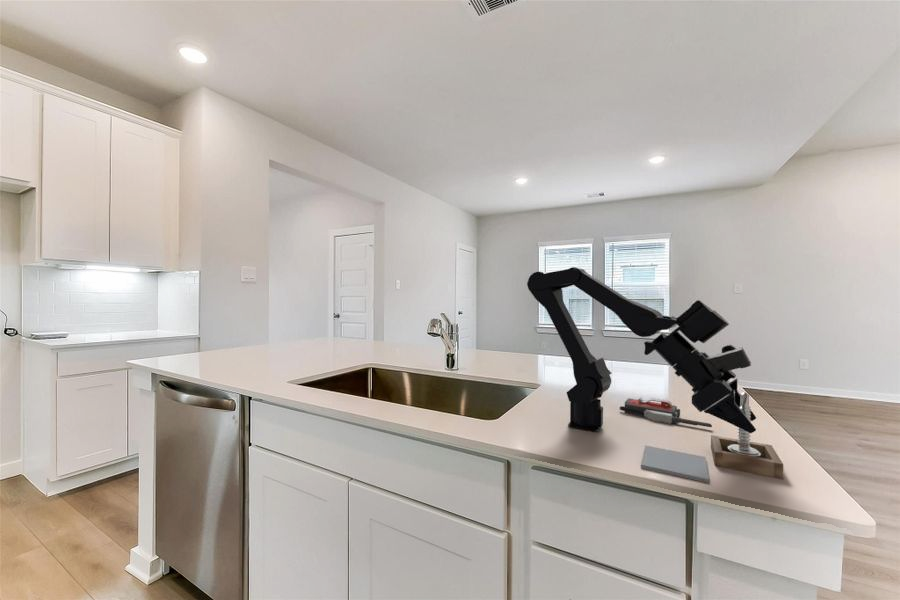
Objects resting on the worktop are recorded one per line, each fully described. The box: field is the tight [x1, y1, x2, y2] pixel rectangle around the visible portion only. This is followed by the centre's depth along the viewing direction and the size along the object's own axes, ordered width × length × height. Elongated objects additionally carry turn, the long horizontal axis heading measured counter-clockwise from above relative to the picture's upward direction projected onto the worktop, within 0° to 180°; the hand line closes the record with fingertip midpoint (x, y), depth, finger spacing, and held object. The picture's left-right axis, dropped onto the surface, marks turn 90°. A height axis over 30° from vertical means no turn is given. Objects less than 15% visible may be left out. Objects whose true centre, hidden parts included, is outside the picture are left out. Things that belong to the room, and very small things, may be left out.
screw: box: [728, 391, 761, 457], centre depth 69 cm, size 13×5×5 cm
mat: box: [640, 444, 710, 484], centre depth 68 cm, size 10×10×1 cm
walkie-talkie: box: [619, 396, 713, 428], centre depth 94 cm, size 9×4×20 cm
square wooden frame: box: [710, 434, 784, 480], centre depth 69 cm, size 9×9×2 cm
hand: (753, 425), depth 68 cm, fingers open, 8 cm apart
